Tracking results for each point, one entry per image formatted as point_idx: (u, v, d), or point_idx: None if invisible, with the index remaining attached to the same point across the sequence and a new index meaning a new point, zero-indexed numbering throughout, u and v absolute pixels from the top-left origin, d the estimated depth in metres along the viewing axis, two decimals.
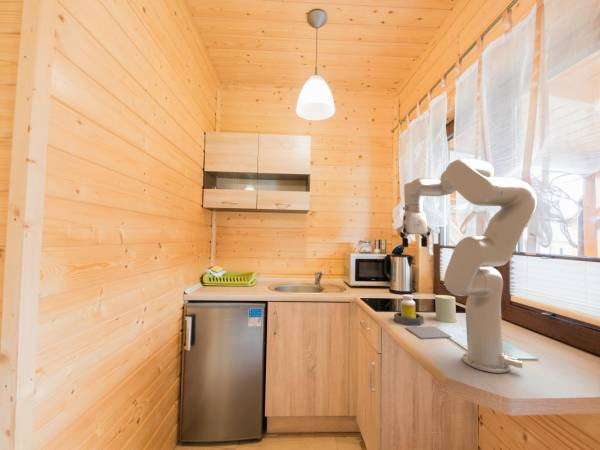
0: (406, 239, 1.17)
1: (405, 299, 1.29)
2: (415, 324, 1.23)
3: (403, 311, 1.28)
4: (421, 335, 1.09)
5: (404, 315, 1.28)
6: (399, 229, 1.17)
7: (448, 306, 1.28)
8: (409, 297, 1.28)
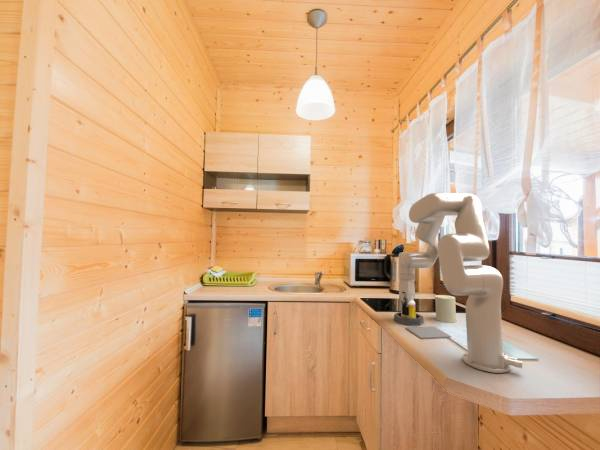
0: None
1: (405, 299, 1.29)
2: (415, 324, 1.23)
3: None
4: (421, 335, 1.09)
5: (404, 315, 1.28)
6: None
7: (448, 306, 1.28)
8: None
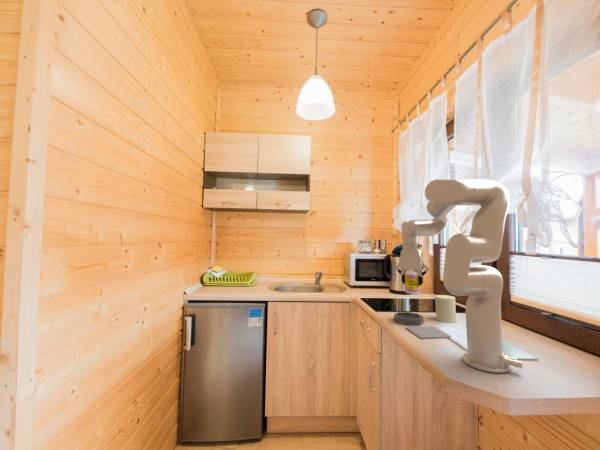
0: None
1: None
2: (415, 324, 1.23)
3: None
4: (421, 335, 1.09)
5: None
6: None
7: (448, 306, 1.28)
8: None
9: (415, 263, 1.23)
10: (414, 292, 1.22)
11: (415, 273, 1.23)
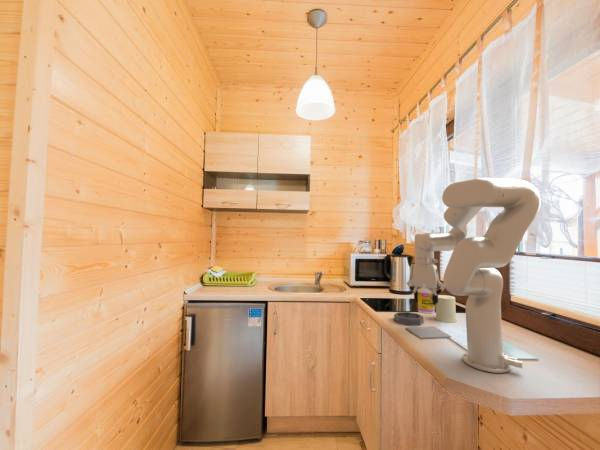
0: None
1: None
2: (415, 324, 1.23)
3: None
4: (421, 335, 1.09)
5: None
6: None
7: (448, 306, 1.28)
8: None
9: (429, 280, 1.11)
10: (428, 312, 1.11)
11: (429, 291, 1.11)
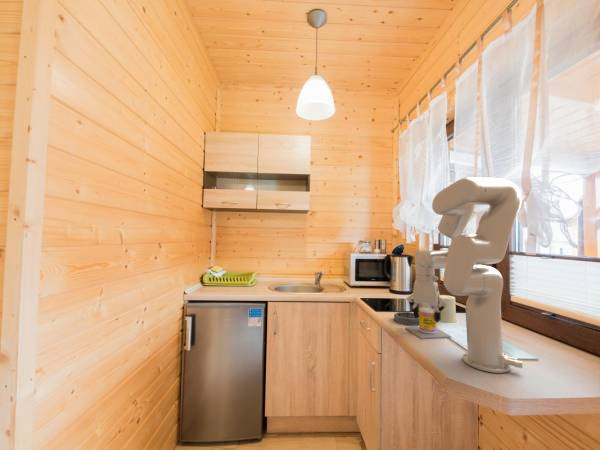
0: None
1: None
2: (415, 324, 1.23)
3: None
4: (421, 335, 1.09)
5: None
6: None
7: (448, 306, 1.28)
8: None
9: (430, 297, 1.11)
10: (429, 332, 1.10)
11: (431, 311, 1.10)
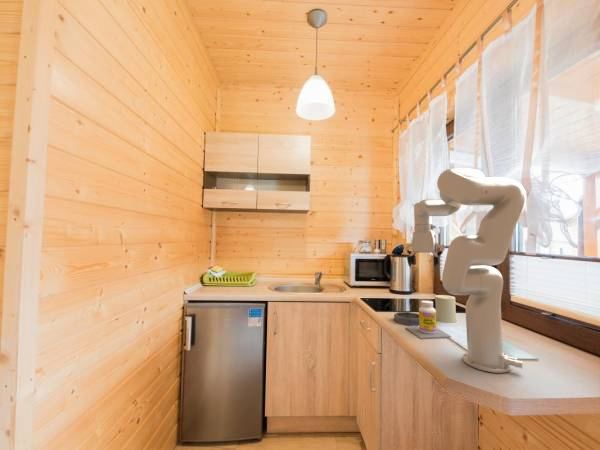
0: None
1: None
2: (415, 324, 1.23)
3: None
4: (421, 335, 1.09)
5: None
6: None
7: (448, 306, 1.28)
8: (421, 302, 1.14)
9: (428, 244, 1.19)
10: (429, 332, 1.10)
11: (431, 311, 1.10)
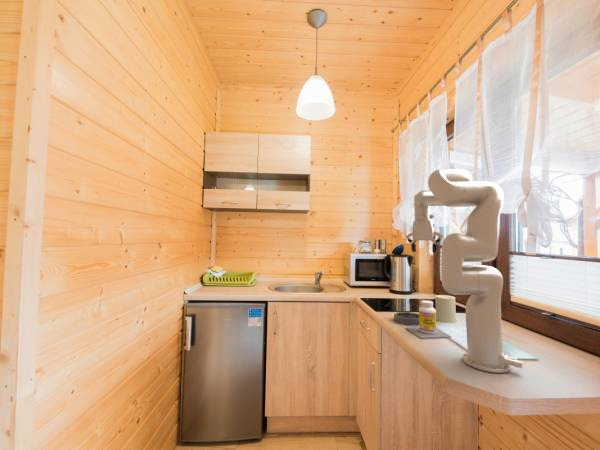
0: None
1: None
2: (415, 324, 1.23)
3: None
4: (421, 335, 1.09)
5: None
6: None
7: (448, 306, 1.28)
8: (421, 302, 1.14)
9: (427, 233, 1.28)
10: (429, 332, 1.10)
11: (431, 311, 1.10)
